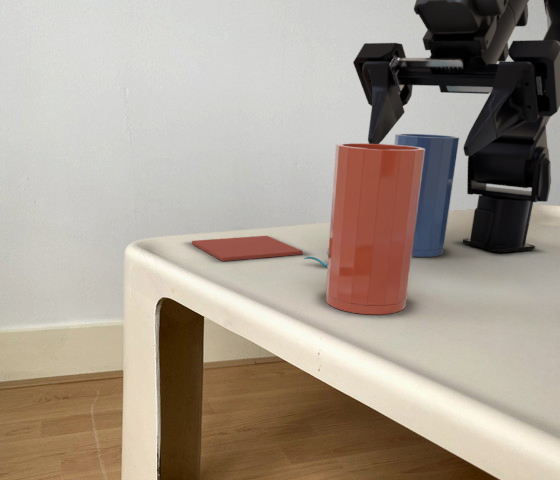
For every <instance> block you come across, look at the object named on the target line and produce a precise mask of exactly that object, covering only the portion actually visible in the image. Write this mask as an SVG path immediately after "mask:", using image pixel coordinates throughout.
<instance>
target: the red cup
mask: <svg viewBox="0 0 560 480" xmlns="http://www.w3.org/2000/svg"><path fill="white" fill-rule="evenodd" d="M424 156H425V149H424V148H420V147H413V146H403V145H394V144H391V143H390V144H388V143H379V144H369V142H367V143H366V142H365V143H364V142H355V143H354V142H349V143H348V142H347V143H345V142H344V143H337V144H335V153H334V169H333V180H332V181H333V182H332V183H333V184H332V198H331V213H330V227H329V241H328V242H329V243H328V248H329V253H328V254H327V265H328V268H327V267H326V269H327V270H326V283H325V286H326V287H325V292H326V293H325V294H326V295H325V301H326V303H327V304H328V305H329V306H331V307H332V308H335V309H337V310H340V311H344V312H347V313H353V314H360V315H373V316H375V315H387V314H388V315H389V314H394V313H398V312H401V311H403V310H404V309H405V308H406V305H407V297H408V293H409V283H410V276H411V268H412V260H413V257H412V253H413V245H414V237H415V229H416V221H417V213H418V204H419V196H420V188H421V180H422V172H423V164H424Z"/></svg>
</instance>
